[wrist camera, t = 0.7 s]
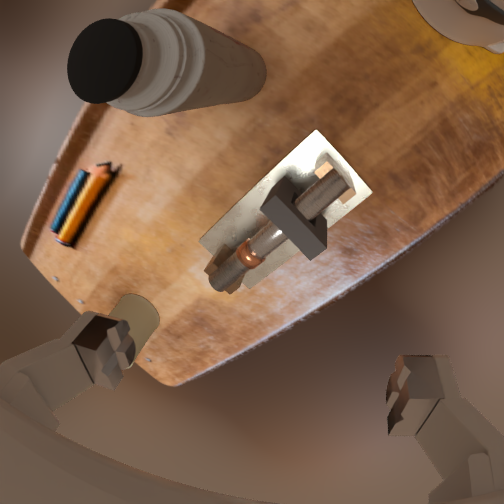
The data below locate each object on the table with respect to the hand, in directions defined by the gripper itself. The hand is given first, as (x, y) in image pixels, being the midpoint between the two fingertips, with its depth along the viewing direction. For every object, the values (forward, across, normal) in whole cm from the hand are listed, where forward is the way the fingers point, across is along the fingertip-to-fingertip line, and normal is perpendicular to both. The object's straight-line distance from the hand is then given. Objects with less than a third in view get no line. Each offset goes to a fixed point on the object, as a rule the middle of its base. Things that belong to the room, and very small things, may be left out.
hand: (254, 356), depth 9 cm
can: (+36, +31, +32) cm, 58 cm away
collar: (+33, +1, +7) cm, 34 cm away
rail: (+36, +4, +10) cm, 37 cm away
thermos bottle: (+36, +10, -10) cm, 38 cm away
